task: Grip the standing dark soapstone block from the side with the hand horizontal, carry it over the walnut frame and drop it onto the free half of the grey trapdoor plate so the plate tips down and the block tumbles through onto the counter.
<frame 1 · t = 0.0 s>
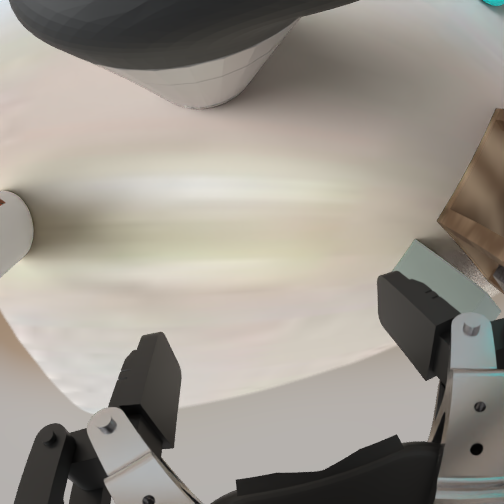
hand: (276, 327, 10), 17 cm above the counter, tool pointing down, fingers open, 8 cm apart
milk bottle: (10, 223, 24), on the counter
soapstone block: (414, 266, 31), on the counter
frame: (498, 202, 29), on the counter
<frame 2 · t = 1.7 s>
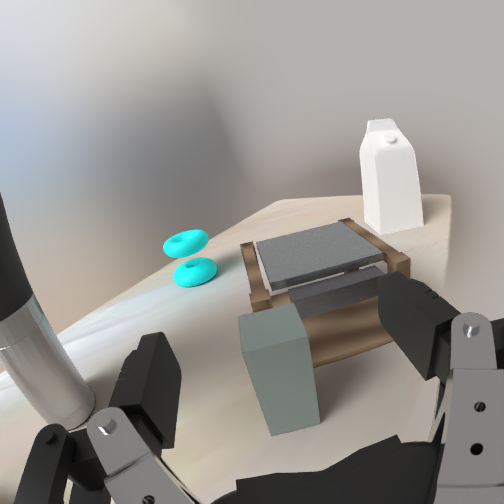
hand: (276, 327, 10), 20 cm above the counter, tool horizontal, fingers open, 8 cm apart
donuts: (197, 278, 66), on the counter
soapstone block: (291, 412, 28), on the counter
frame: (322, 319, 42), on the counter
milk: (393, 224, 69), on the counter
trapdoor: (317, 262, 37), point 10 cm above the counter, hinge at 0.0°
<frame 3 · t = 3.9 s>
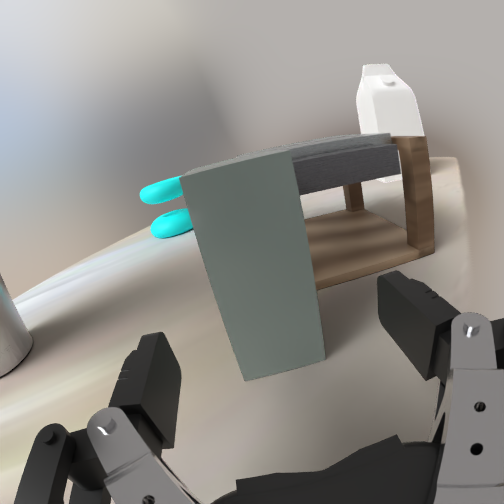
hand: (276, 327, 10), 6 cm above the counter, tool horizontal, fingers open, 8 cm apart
donuts: (177, 231, 57), on the counter
soapstone block: (278, 346, 19), on the counter
frame: (321, 246, 33), on the counter
milk: (397, 175, 61), on the counter
trapdoor: (310, 158, 28), point 10 cm above the counter, hinge at 0.0°
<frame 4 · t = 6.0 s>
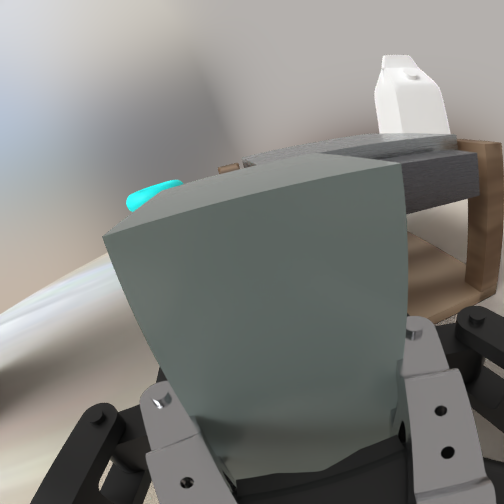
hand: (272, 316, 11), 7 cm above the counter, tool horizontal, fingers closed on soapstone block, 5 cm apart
donuts: (170, 244, 49), on the counter
soapstone block: (308, 457, 11), on the counter, touching gripper
frame: (352, 278, 25), on the counter
milk: (420, 181, 52), on the counter
trapdoor: (345, 164, 20), point 10 cm above the counter, hinge at 0.0°
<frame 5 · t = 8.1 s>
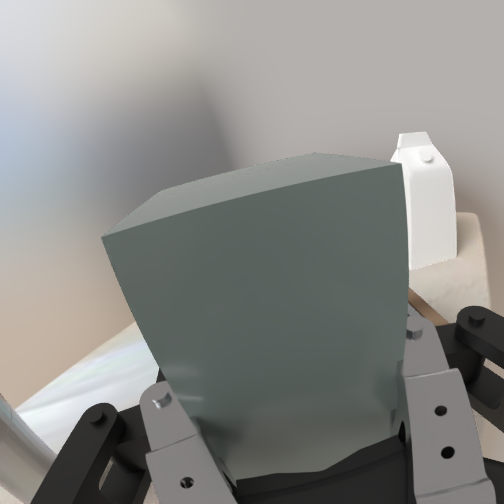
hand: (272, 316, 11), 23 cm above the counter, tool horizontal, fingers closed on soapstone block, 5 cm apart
soapstone block: (308, 457, 11), point 17 cm above the counter, touching gripper
frame: (356, 400, 31), on the counter
milk: (422, 254, 58), on the counter
trapdoor: (361, 350, 25), point 10 cm above the counter, hinge at 0.0°
when the fingers open (20 cm above the counter, at t = 10.2 s): soapstone block drops 10 cm and tips over, resting on frame.
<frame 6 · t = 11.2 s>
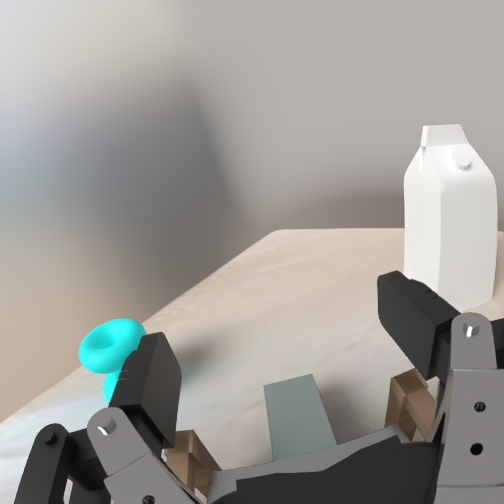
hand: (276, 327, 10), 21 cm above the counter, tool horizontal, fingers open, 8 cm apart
donuts: (139, 390, 37), on the counter
soapstone block: (314, 488, 17), point 4 cm above the counter, tilted 95°, touching frame
milk: (446, 293, 40), on the counter
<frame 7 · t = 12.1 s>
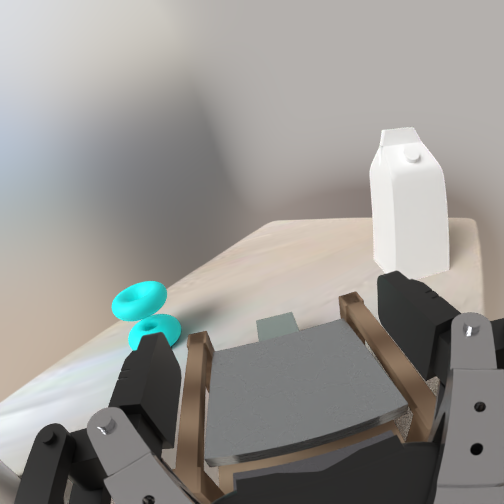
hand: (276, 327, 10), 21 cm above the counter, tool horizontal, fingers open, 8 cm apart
donuts: (157, 341, 50), on the counter
soapstone block: (291, 385, 29), point 4 cm above the counter, tilted 95°, touching frame
frame: (306, 443, 25), on the counter
milk: (410, 265, 53), on the counter
trapdoor: (298, 404, 20), point 9 cm above the counter, hinge at -6.7°
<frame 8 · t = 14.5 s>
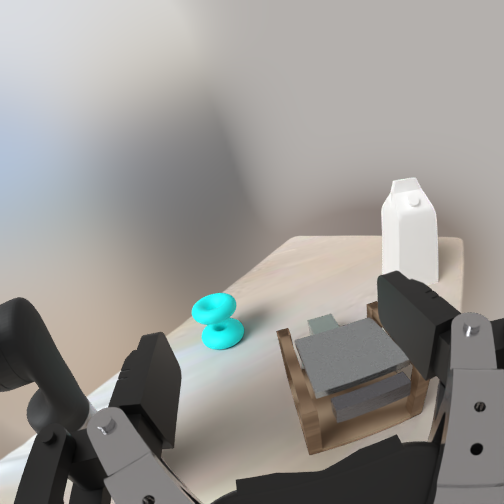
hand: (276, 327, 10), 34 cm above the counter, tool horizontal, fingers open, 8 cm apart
donuts: (224, 338, 67), on the counter
soapstone block: (338, 360, 47), point 4 cm above the counter, tilted 95°, touching frame
frame: (349, 396, 43), on the counter
milk: (409, 278, 71), on the counter
trapdoor: (352, 364, 38), point 9 cm above the counter, hinge at -6.3°
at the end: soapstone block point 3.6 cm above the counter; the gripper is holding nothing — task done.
